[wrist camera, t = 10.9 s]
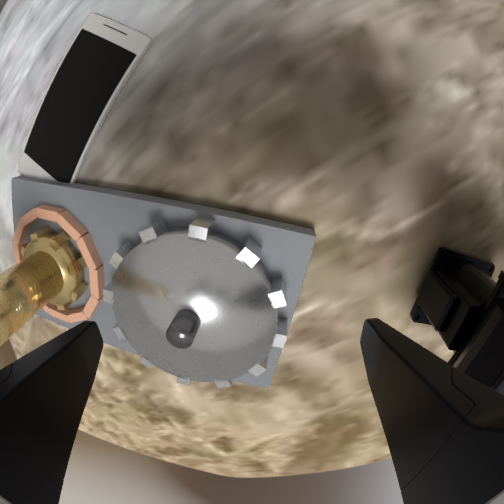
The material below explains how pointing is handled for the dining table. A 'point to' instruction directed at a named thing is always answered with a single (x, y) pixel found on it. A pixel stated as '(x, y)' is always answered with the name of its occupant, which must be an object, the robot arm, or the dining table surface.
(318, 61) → the dining table surface
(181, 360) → the gear
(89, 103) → the smartphone
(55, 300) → the gold piece
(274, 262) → the gear board
